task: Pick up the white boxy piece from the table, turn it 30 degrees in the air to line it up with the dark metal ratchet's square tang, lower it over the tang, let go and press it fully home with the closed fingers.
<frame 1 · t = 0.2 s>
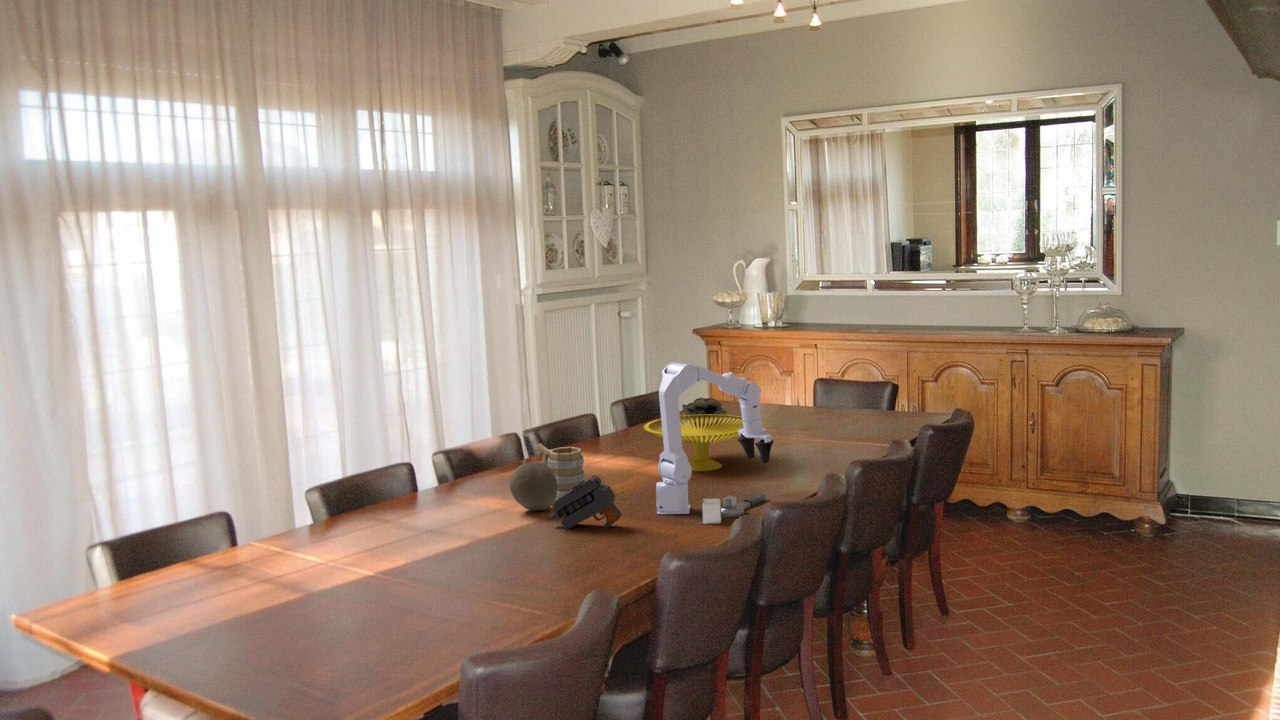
hand: (758, 460, 321), 11 cm above the table, tool pointing down, fingers open, 7 cm apart
dark rounded lump: (704, 431, 425), on the table
white boxy piece: (712, 521, 294), on the table
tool: (585, 527, 294), on the table
cantaloupe: (535, 511, 313), on the table
cake stand: (701, 466, 362), on the table
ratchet: (730, 514, 301), on the table
tankard: (559, 491, 336), on the table
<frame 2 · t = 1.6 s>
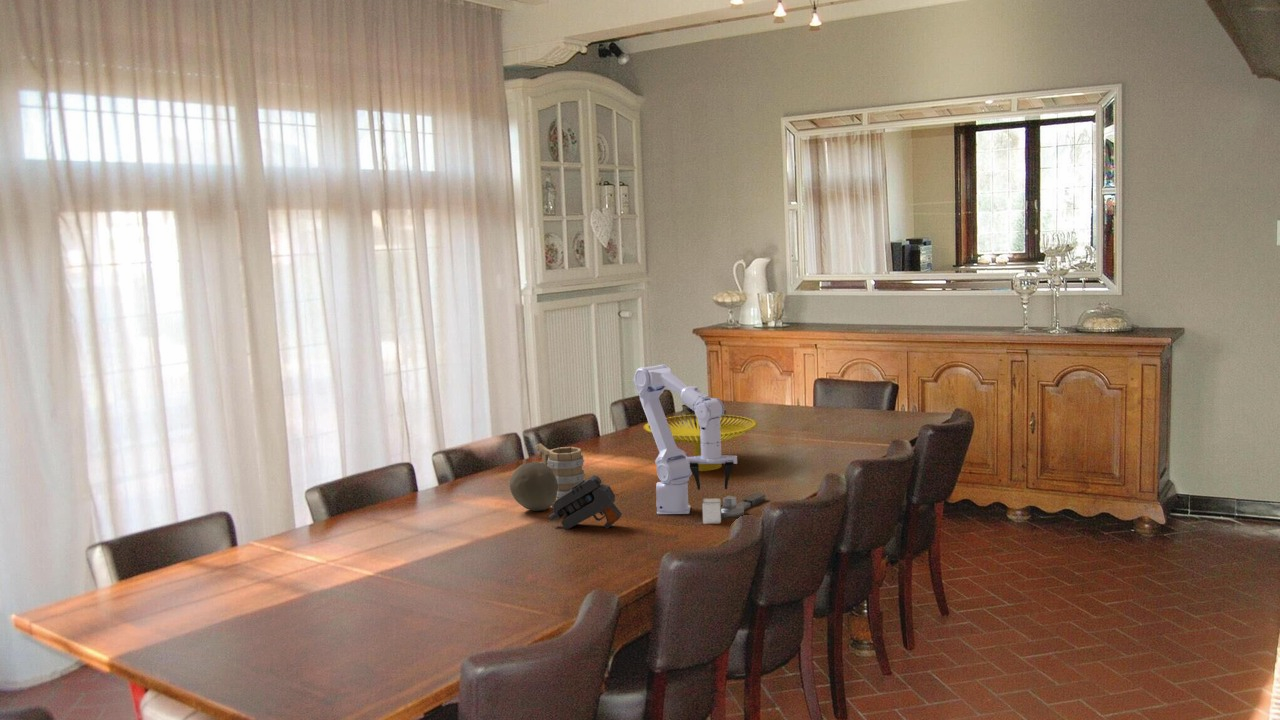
hand: (712, 488, 293), 9 cm above the table, tool pointing down, fingers open, 7 cm apart
nothing on the table moved.
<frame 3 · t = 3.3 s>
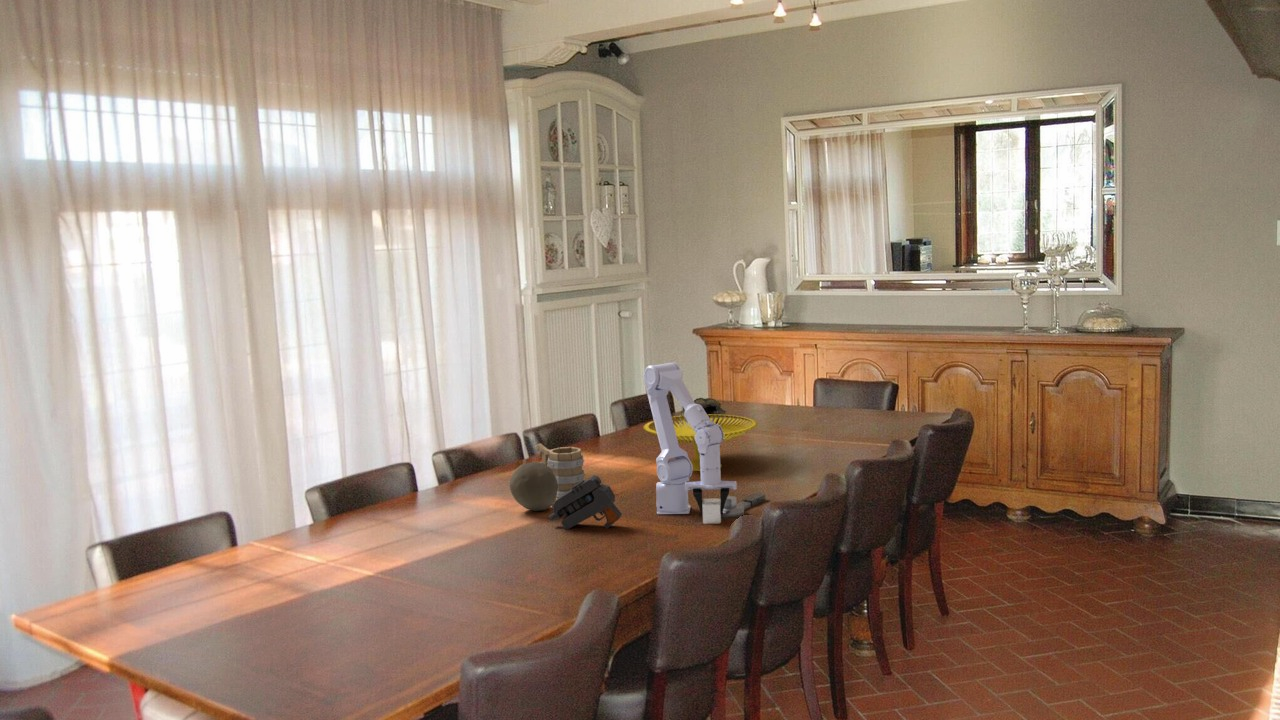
hand: (711, 514, 294), 2 cm above the table, tool pointing down, fingers closed on white boxy piece, 5 cm apart
white boxy piece: (712, 521, 294), on the table, touching gripper
everything else where it was.
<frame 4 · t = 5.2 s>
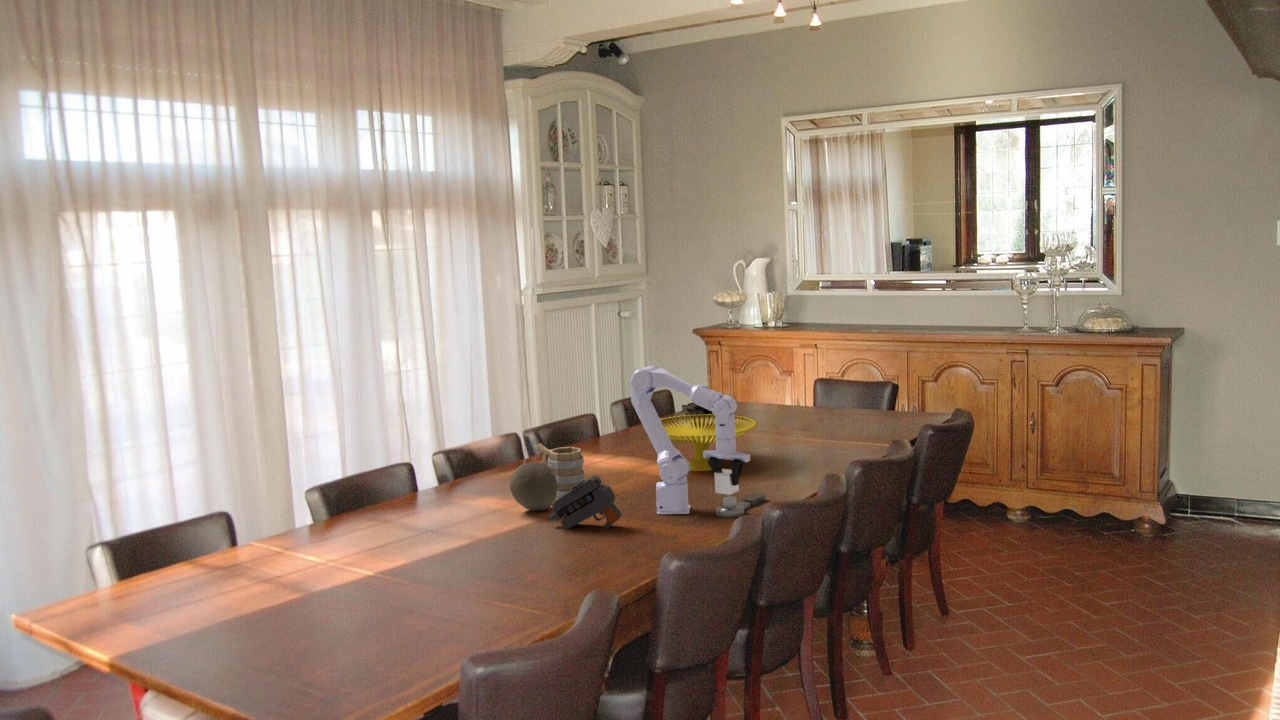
hand: (727, 483, 299), 9 cm above the table, tool pointing down, fingers closed on white boxy piece, 5 cm apart
white boxy piece: (727, 491, 299), point 7 cm above the table, touching gripper
everything else where it was.
when the fingers open (5 cm above the table, at t = 7.0 s): white boxy piece stays where it is, resting on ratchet.
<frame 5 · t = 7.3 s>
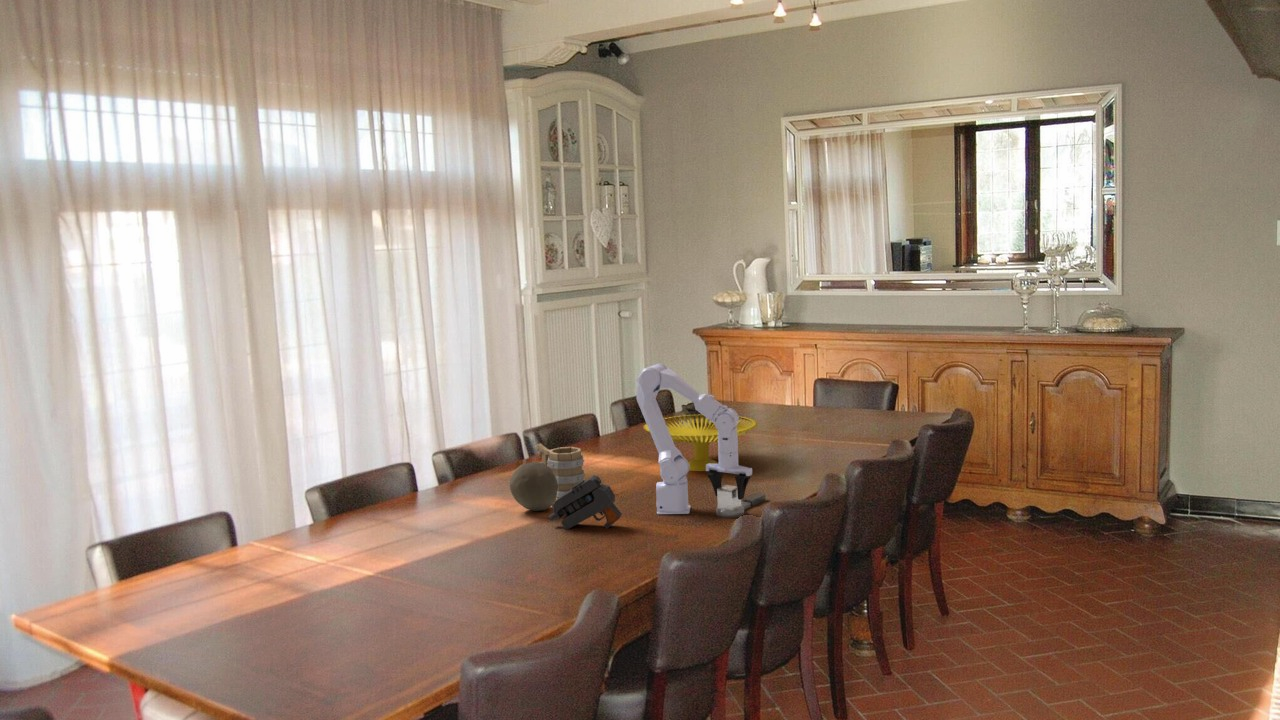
hand: (729, 497, 300), 5 cm above the table, tool pointing down, fingers open, 7 cm apart
white boxy piece: (729, 507, 300), point 2 cm above the table, touching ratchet
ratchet: (730, 514, 301), on the table, touching white boxy piece
everything else where it was.
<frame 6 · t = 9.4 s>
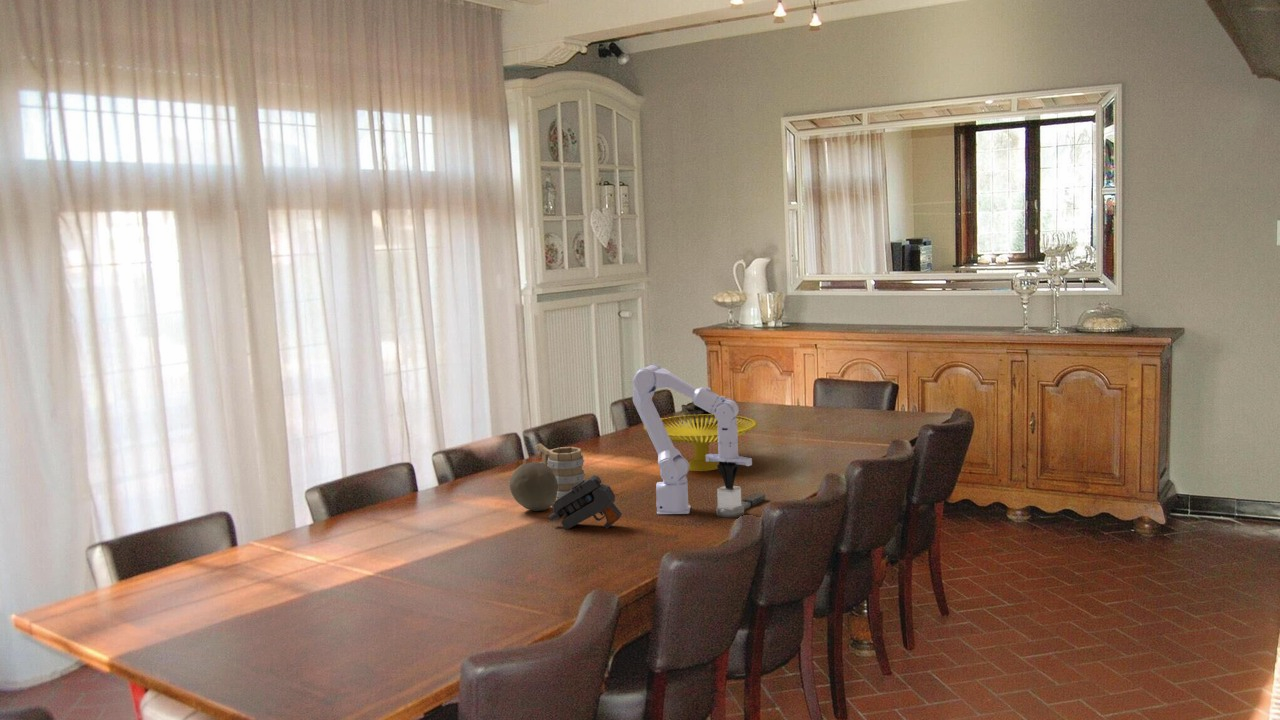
hand: (729, 487, 300), 8 cm above the table, tool pointing down, fingers closed, pressing on white boxy piece
white boxy piece: (729, 507, 300), point 2 cm above the table, touching gripper, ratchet
everything else where it was.
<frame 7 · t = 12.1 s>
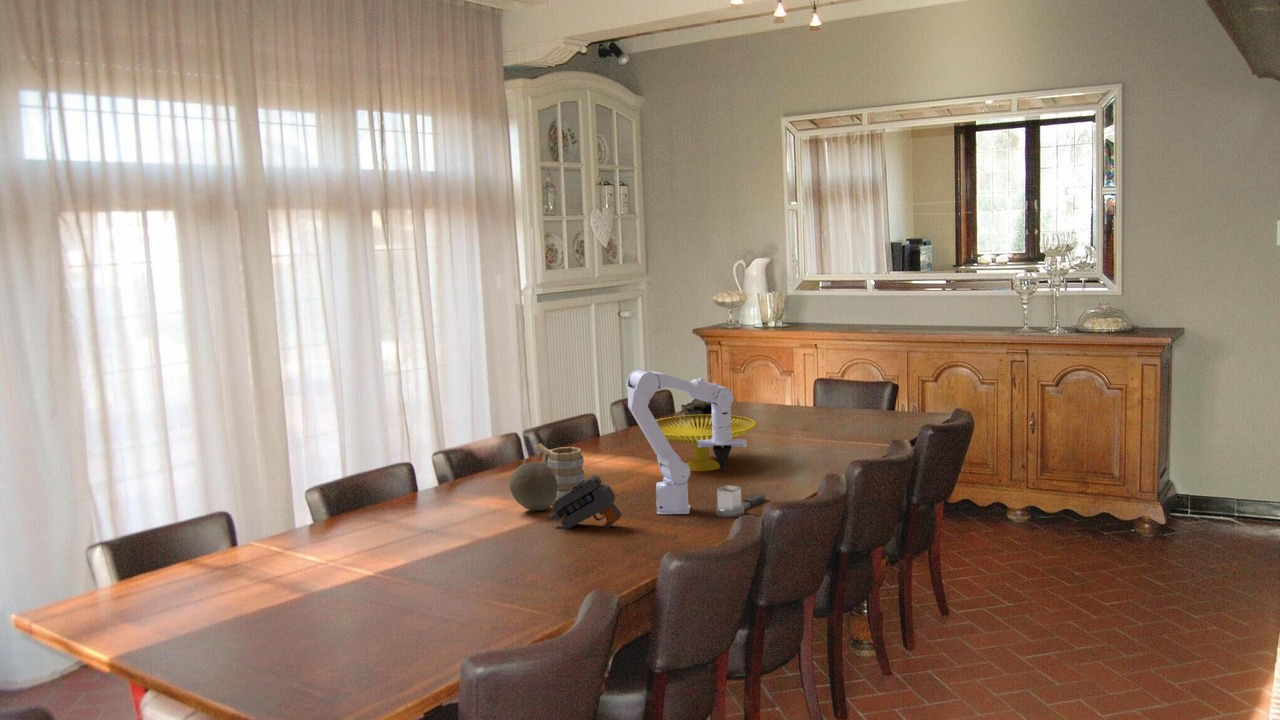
hand: (723, 470, 311), 10 cm above the table, tool pointing down, fingers closed
white boxy piece: (729, 507, 300), point 2 cm above the table, touching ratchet
everything else where it was.
at the end: white boxy piece 0.3 cm off-centre on the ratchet, point 2.0 cm above the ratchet's base; white boxy piece tilted 0°; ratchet moved 0.1 cm from its start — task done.
